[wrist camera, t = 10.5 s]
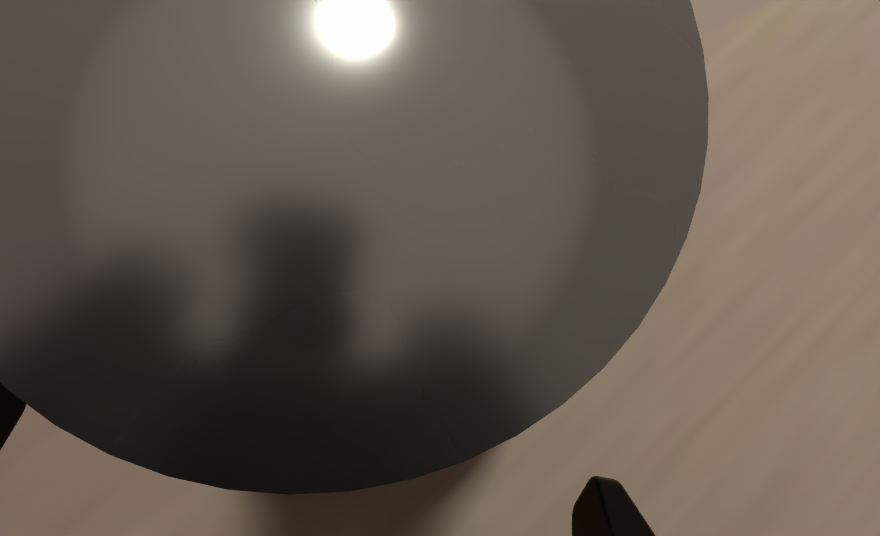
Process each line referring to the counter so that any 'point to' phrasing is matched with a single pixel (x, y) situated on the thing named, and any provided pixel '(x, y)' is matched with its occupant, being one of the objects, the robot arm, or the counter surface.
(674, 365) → the counter surface
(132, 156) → the grey tin
